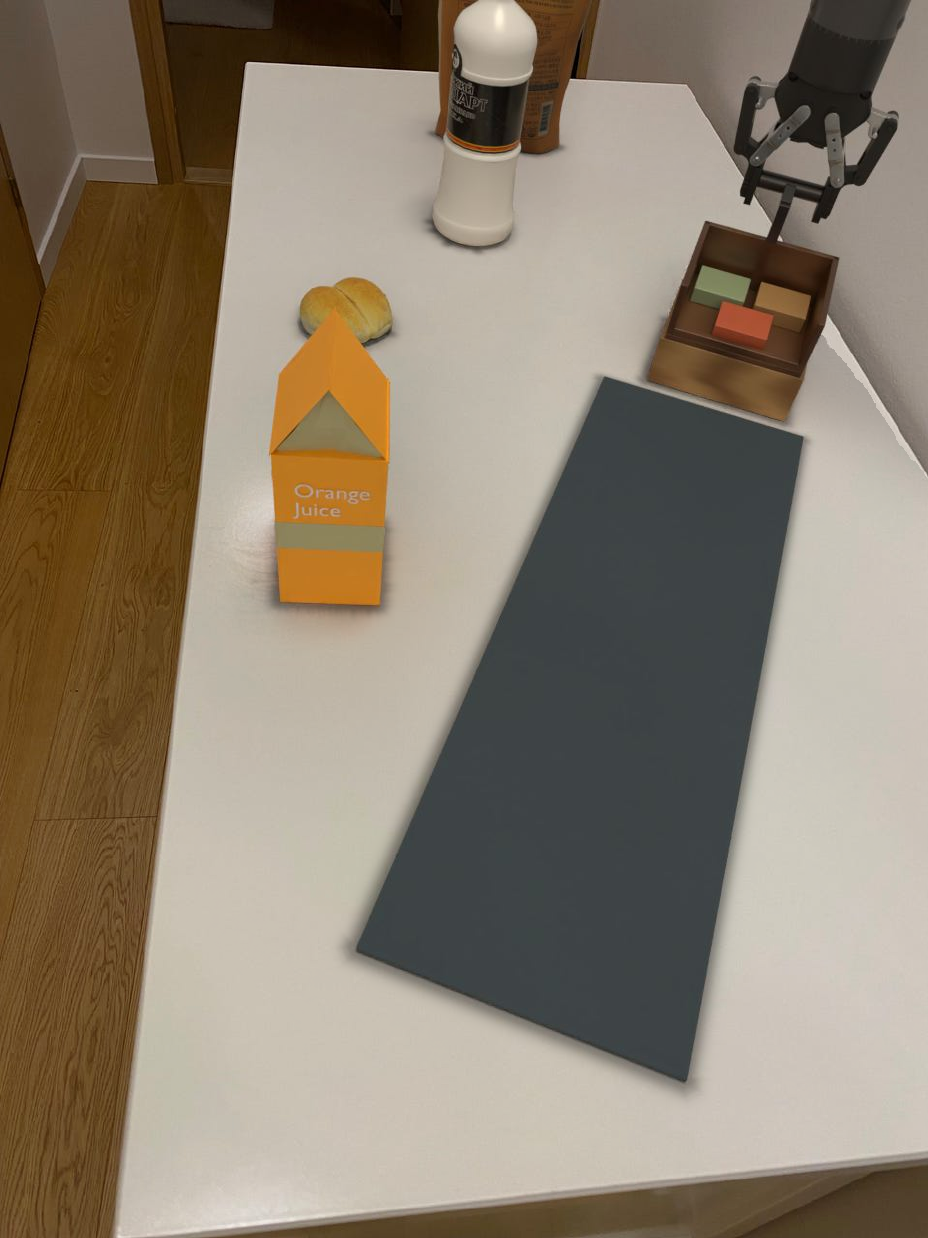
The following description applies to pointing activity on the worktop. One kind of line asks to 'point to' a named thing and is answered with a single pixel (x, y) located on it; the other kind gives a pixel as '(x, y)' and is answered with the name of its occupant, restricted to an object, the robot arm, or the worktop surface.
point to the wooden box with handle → (759, 264)
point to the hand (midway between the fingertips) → (781, 209)
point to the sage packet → (719, 288)
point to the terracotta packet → (742, 325)
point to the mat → (605, 738)
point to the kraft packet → (782, 306)
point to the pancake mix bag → (559, 21)
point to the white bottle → (484, 122)
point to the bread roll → (349, 307)
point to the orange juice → (330, 470)
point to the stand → (723, 378)
